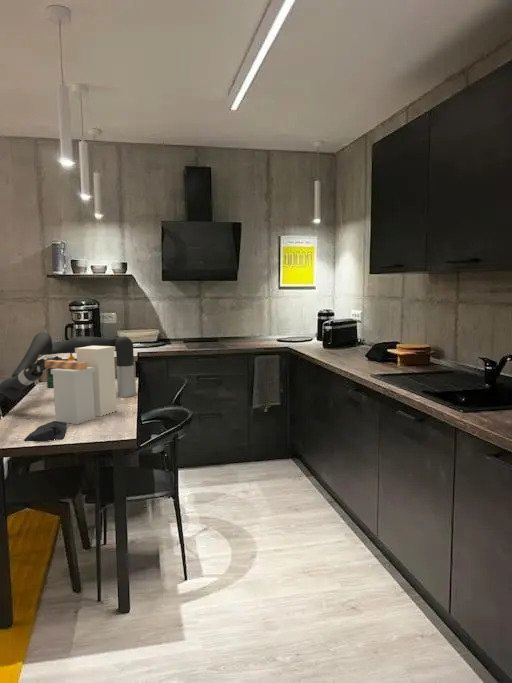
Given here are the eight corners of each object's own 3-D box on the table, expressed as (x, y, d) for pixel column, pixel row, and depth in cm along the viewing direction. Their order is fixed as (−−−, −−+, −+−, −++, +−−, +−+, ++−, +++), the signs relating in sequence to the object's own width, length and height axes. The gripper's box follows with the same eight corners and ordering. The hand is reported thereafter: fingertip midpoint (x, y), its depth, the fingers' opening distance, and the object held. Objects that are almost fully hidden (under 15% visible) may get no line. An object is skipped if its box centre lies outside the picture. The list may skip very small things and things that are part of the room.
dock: (54, 421, 230) (50, 369, 227) (73, 415, 241) (71, 365, 238) (77, 424, 224) (74, 371, 221) (96, 418, 235) (93, 367, 232)
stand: (78, 414, 243) (74, 348, 240) (96, 408, 254) (92, 345, 251) (101, 417, 237) (97, 349, 234) (118, 411, 248) (115, 346, 245)
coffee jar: (46, 388, 310) (44, 358, 309) (48, 386, 318) (46, 357, 316) (63, 387, 313) (61, 357, 311) (64, 385, 321) (62, 356, 319)
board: (44, 367, 234) (44, 361, 234) (51, 366, 238) (51, 359, 238) (80, 369, 225) (80, 363, 225) (87, 368, 229) (87, 362, 228)
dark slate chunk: (73, 427, 222) (72, 416, 222) (62, 441, 201) (61, 430, 200) (36, 429, 220) (35, 418, 219) (21, 444, 198) (20, 432, 198)
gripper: (14, 369, 236) (35, 353, 229) (39, 365, 248) (59, 350, 242) (21, 384, 235) (42, 368, 228) (45, 379, 248) (66, 364, 241)
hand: (51, 359), depth 235 cm, fingers open, 8 cm apart
